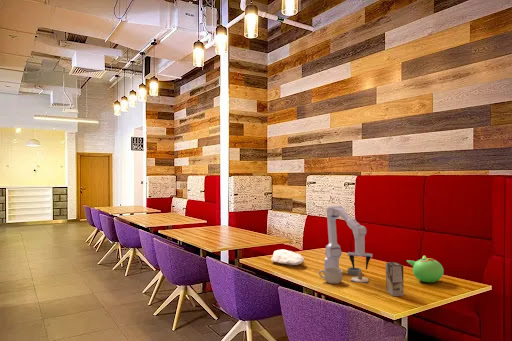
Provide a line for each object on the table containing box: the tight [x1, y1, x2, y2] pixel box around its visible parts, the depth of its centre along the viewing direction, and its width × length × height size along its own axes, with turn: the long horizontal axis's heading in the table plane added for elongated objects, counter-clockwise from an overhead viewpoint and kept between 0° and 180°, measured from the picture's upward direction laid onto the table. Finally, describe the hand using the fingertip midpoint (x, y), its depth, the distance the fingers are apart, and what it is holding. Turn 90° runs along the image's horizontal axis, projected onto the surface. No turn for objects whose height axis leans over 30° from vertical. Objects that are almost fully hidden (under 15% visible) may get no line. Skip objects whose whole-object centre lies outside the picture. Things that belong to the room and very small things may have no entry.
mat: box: [350, 279, 370, 284], centre depth 227 cm, size 10×11×1 cm
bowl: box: [347, 266, 362, 277], centre depth 242 cm, size 8×8×4 cm
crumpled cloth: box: [270, 248, 305, 266], centre depth 273 cm, size 24×35×9 cm
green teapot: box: [406, 255, 445, 283], centre depth 225 cm, size 18×17×15 cm
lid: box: [351, 271, 370, 284], centre depth 227 cm, size 10×10×5 cm
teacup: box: [318, 267, 343, 285], centre depth 223 cm, size 14×11×8 cm
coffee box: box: [385, 261, 405, 297], centre depth 203 cm, size 9×6×16 cm
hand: (360, 268), depth 227 cm, fingers open, 7 cm apart
